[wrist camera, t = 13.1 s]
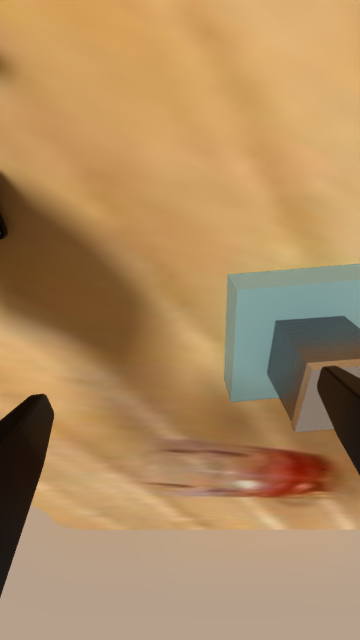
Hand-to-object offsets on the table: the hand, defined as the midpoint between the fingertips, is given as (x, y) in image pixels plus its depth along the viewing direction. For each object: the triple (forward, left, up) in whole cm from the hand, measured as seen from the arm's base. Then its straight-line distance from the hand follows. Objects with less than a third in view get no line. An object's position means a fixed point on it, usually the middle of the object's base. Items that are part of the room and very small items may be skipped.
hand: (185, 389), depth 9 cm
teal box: (+10, -7, -14) cm, 18 cm away
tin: (+10, -7, -10) cm, 16 cm away
